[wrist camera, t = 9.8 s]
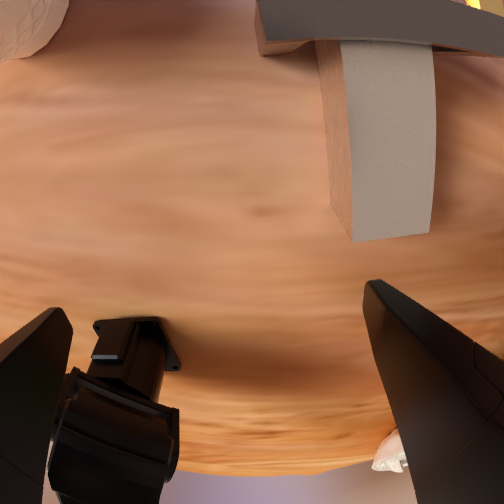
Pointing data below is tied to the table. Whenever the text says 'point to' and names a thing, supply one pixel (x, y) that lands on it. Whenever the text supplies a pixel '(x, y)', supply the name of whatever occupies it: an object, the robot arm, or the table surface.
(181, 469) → the table surface
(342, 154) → the grey rectangular bar
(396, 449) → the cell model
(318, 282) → the table surface
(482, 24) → the grey c-shaped bracket
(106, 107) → the table surface
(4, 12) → the white cup
